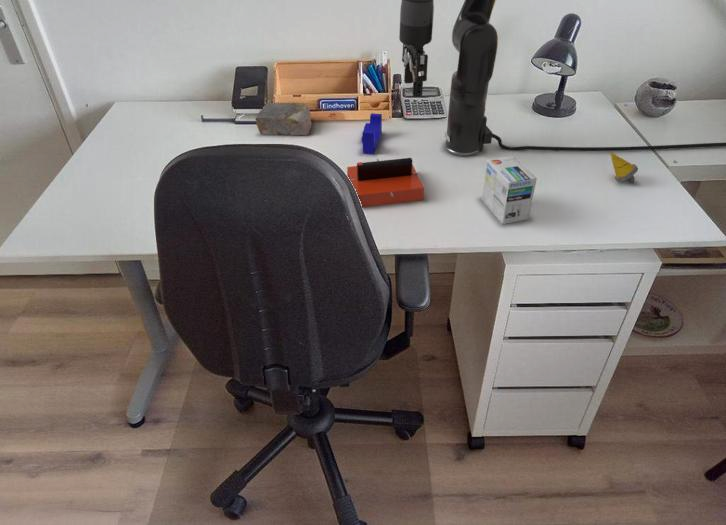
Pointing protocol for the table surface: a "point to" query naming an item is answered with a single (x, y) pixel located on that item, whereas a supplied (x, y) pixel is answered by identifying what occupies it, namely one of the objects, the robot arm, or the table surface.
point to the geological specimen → (284, 119)
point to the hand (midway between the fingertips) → (412, 89)
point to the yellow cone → (623, 169)
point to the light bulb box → (508, 189)
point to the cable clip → (372, 133)
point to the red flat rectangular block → (387, 188)
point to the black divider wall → (384, 169)
